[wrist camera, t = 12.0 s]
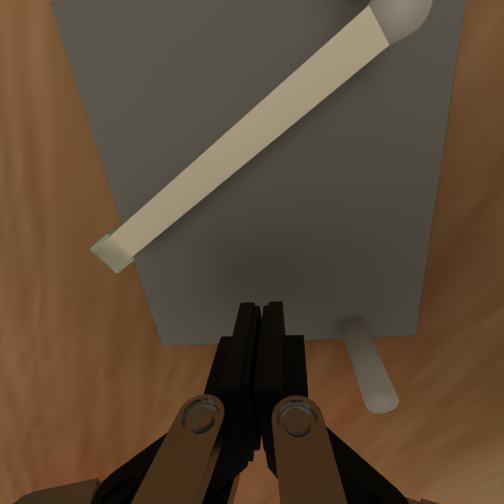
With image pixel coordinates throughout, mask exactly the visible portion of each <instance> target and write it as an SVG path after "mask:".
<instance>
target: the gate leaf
mask: <svg viewBox="0 0 504 504" xmlns="http://www.w3.org/2000/svg"><path fill="white" fill-rule="evenodd" d="M431 6H432V0H371V1H370V3H369V4H368V5H367V6H366V7H365V9H364V10H363V11H362V12H361V13H360V14H358V15H357V16H356V17H355V18H354V19H353V20H352V21H351V22H350V23H348V24H347V25H346V26H345V27H344V28H343V29H342V30H341V31H339V32H338V33H337V34H336V35H335V36H334V37H333V38H332V39H330V40H329V41H328V42H327V43H326V44H325V45H324V46H323V47H321V48H320V49H319V50H318V51H317V52H316V53H315V54H314V55H313V56H311V57H310V58H309V59H308V60H307V61H306V62H305V63H304V64H302V65H301V66H300V67H299V68H298V69H297V70H296V71H295V72H293V73H292V74H291V75H290V76H289V77H288V78H287V79H286V80H285V81H283V82H282V83H281V84H280V85H279V86H278V87H277V88H276V89H274V90H273V91H272V92H271V93H270V94H269V95H268V96H267V97H265V98H264V99H263V100H262V101H261V102H260V103H259V104H258V105H256V106H255V107H254V108H253V109H252V110H251V111H250V112H249V113H248V114H246V115H245V116H244V117H243V118H242V119H241V120H240V121H239V122H237V123H236V124H235V125H234V126H233V127H232V128H231V129H230V130H228V131H227V132H226V133H225V134H224V135H223V136H222V137H221V138H220V139H218V140H217V141H216V142H215V143H214V144H213V145H212V146H211V147H209V148H208V149H207V150H206V151H205V152H204V153H203V154H202V155H200V156H199V157H198V158H197V159H196V160H195V161H194V162H193V163H191V164H190V165H189V166H188V167H187V168H186V169H185V170H184V171H183V172H181V173H180V174H179V175H178V176H177V177H176V178H175V179H174V180H172V181H171V182H170V183H169V184H168V185H167V186H166V187H165V188H163V189H162V190H161V191H160V192H159V193H158V194H157V195H156V196H154V197H153V198H152V199H151V200H150V201H149V202H148V203H147V204H146V205H144V206H143V207H142V208H141V209H140V210H139V211H138V212H137V213H135V214H134V215H133V216H131V217H130V218H128V219H127V220H125V221H124V222H123V223H121V224H120V225H118V226H117V227H116V228H114V229H113V230H111V231H110V232H109V233H107V234H106V235H105V236H104V237H103V238H102V239H101V240H99V241H98V242H97V243H96V244H95V245H94V246H93V247H92V248H91V249H90V250H91V251H93V252H94V253H95V254H96V255H97V256H98V257H99V258H100V259H101V260H102V261H103V262H104V263H105V264H107V265H108V266H109V267H110V268H111V269H112V270H113V271H114V272H115V273H116V274H117V273H119V272H120V271H121V270H122V269H124V268H125V267H126V266H127V265H129V264H130V263H131V262H132V261H133V260H135V259H136V258H137V257H138V256H139V255H140V253H141V252H142V251H143V250H144V249H145V248H146V247H147V246H148V245H149V244H150V243H151V242H152V241H153V240H154V239H155V238H156V237H157V236H158V235H159V234H161V233H162V232H163V231H164V230H165V229H167V228H168V227H169V226H170V225H171V224H173V223H174V222H175V221H176V220H178V219H179V218H180V217H181V216H182V215H184V214H185V213H186V212H187V211H188V210H190V209H191V208H192V207H193V206H195V205H196V204H197V203H198V202H199V201H201V200H202V199H203V198H204V197H205V196H207V195H208V194H209V193H210V192H212V191H213V190H214V189H215V188H216V187H218V186H219V185H220V184H221V183H222V182H224V181H225V180H226V179H227V178H229V177H230V176H231V175H232V174H233V173H235V172H236V171H237V170H238V169H239V168H241V167H242V166H243V165H244V164H246V163H247V162H248V161H249V160H250V159H252V158H253V157H254V156H255V155H256V154H258V153H259V152H260V151H261V150H263V149H264V148H265V147H266V146H267V145H269V144H270V143H271V142H272V141H273V140H275V139H276V138H277V137H278V136H280V135H281V134H282V133H283V132H284V131H286V130H287V129H288V128H289V127H290V126H292V125H293V124H294V123H295V122H297V121H298V120H299V119H300V118H301V117H303V116H304V115H305V114H306V113H308V112H309V111H310V110H311V109H312V108H314V107H315V106H316V105H317V104H318V103H320V102H321V101H322V100H323V99H325V98H326V97H327V96H328V95H329V94H331V93H332V92H333V91H334V90H335V89H337V88H338V87H339V86H340V85H342V84H343V83H344V82H345V81H346V80H348V79H349V78H350V77H351V76H352V75H354V74H355V73H356V72H357V71H359V70H360V69H361V68H362V67H363V66H365V65H366V64H367V63H368V62H369V61H371V60H372V59H373V58H374V57H376V56H377V55H378V54H379V53H380V52H382V51H383V50H384V49H386V48H388V47H389V46H391V45H393V44H394V43H396V42H398V41H399V40H401V39H403V38H404V37H406V36H408V35H409V34H411V33H413V32H414V31H415V30H417V29H418V28H419V27H420V26H421V25H422V24H423V22H424V21H425V19H426V18H427V16H428V14H429V12H430V9H431Z"/></svg>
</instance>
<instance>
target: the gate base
mask: <svg viewBox="0 0 504 504" xmlns="http://www.w3.org/2000/svg"><path fill="white" fill-rule="evenodd" d="M370 1H371V0H59V1H54V2H50V5H51V8H52V11H53V14H54V17H55V20H56V23H57V26H58V29H59V32H60V35H61V38H62V41H63V45H64V48H65V51H66V54H67V57H68V60H69V63H70V66H71V69H72V72H73V75H74V78H75V81H76V84H77V87H78V90H79V93H80V96H81V99H82V102H83V106H84V109H85V112H86V115H87V118H88V121H89V124H90V127H91V130H92V133H93V136H94V139H95V142H96V145H97V148H98V151H99V154H100V157H101V160H102V163H103V167H104V170H105V173H106V176H107V179H108V182H109V185H110V188H111V191H112V194H113V197H114V200H115V203H116V206H117V209H118V212H119V215H120V218H121V221H122V223H123V222H124V221H125V220H127V219H128V218H130V217H131V216H133V215H134V214H135V213H137V212H138V211H139V210H140V209H141V208H142V207H143V206H144V205H146V204H147V203H148V202H149V201H150V200H151V199H152V198H153V197H154V196H156V195H157V194H158V193H159V192H160V191H161V190H162V189H163V188H165V187H166V186H167V185H168V184H169V183H170V182H171V181H172V180H174V179H175V178H176V177H177V176H178V175H179V174H180V173H181V172H183V171H184V170H185V169H186V168H187V167H188V166H189V165H190V164H191V163H193V162H194V161H195V160H196V159H197V158H198V157H199V156H200V155H202V154H203V153H204V152H205V151H206V150H207V149H208V148H209V147H211V146H212V145H213V144H214V143H215V142H216V141H217V140H218V139H220V138H221V137H222V136H223V135H224V134H225V133H226V132H227V131H228V130H230V129H231V128H232V127H233V126H234V125H235V124H236V123H237V122H239V121H240V120H241V119H242V118H243V117H244V116H245V115H246V114H248V113H249V112H250V111H251V110H252V109H253V108H254V107H255V106H256V105H258V104H259V103H260V102H261V101H262V100H263V99H264V98H265V97H267V96H268V95H269V94H270V93H271V92H272V91H273V90H274V89H276V88H277V87H278V86H279V85H280V84H281V83H282V82H283V81H285V80H286V79H287V78H288V77H289V76H290V75H291V74H292V73H293V72H295V71H296V70H297V69H298V68H299V67H300V66H301V65H302V64H304V63H305V62H306V61H307V60H308V59H309V58H310V57H311V56H313V55H314V54H315V53H316V52H317V51H318V50H319V49H320V48H321V47H323V46H324V45H325V44H326V43H327V42H328V41H329V40H330V39H332V38H333V37H334V36H335V35H336V34H337V33H338V32H339V31H341V30H342V29H343V28H344V27H345V26H346V25H347V24H348V23H350V22H351V21H352V20H353V19H354V18H355V17H356V16H357V15H358V14H360V13H361V12H362V11H363V10H364V9H365V7H366V6H367V5H368V4H369V3H370ZM465 1H466V0H432V6H431V9H430V12H429V14H428V16H427V18H426V19H425V21H424V22H423V24H422V25H421V26H420V27H419V28H418V29H417V30H415V31H414V32H413V33H411V34H409V35H408V36H406V37H404V38H403V39H401V40H399V41H398V42H396V43H394V44H393V45H391V46H389V47H388V48H386V49H384V50H383V51H382V52H380V53H379V54H378V55H377V56H376V57H374V58H373V59H372V60H371V61H369V62H368V63H367V64H366V65H365V66H363V67H362V68H361V69H360V70H359V71H357V72H356V73H355V74H354V75H352V76H351V77H350V78H349V79H348V80H346V81H345V82H344V83H343V84H342V85H340V86H339V87H338V88H337V89H335V90H334V91H333V92H332V93H331V94H329V95H328V96H327V97H326V98H325V99H323V100H322V101H321V102H320V103H318V104H317V105H316V106H315V107H314V108H312V109H311V110H310V111H309V112H308V113H306V114H305V115H304V116H303V117H301V118H300V119H299V120H298V121H297V122H295V123H294V124H293V125H292V126H290V127H289V128H288V129H287V130H286V131H284V132H283V133H282V134H281V135H280V136H278V137H277V138H276V139H275V140H273V141H272V142H271V143H270V144H269V145H267V146H266V147H265V148H264V149H263V150H261V151H260V152H259V153H258V154H256V155H255V156H254V157H253V158H252V159H250V160H249V161H248V162H247V163H246V164H244V165H243V166H242V167H241V168H239V169H238V170H237V171H236V172H235V173H233V174H232V175H231V176H230V177H229V178H227V179H226V180H225V181H224V182H222V183H221V184H220V185H219V186H218V187H216V188H215V189H214V190H213V191H212V192H210V193H209V194H208V195H207V196H205V197H204V198H203V199H202V200H201V201H199V202H198V203H197V204H196V205H195V206H193V207H192V208H191V209H190V210H188V211H187V212H186V213H185V214H184V215H182V216H181V217H180V218H179V219H178V220H176V221H175V222H174V223H173V224H171V225H170V226H169V227H168V228H167V229H165V230H164V231H163V232H162V233H161V234H159V235H158V236H157V237H156V238H155V239H154V240H153V241H152V242H151V243H150V244H149V245H148V246H147V247H146V248H145V249H144V250H143V251H142V252H141V253H140V255H139V256H138V257H137V258H136V259H135V260H134V261H135V264H136V267H137V270H138V273H139V276H140V279H141V282H142V285H143V288H144V292H145V295H146V298H147V301H148V304H149V307H150V310H151V313H152V316H153V319H154V322H155V325H156V328H157V331H158V334H159V337H160V340H161V343H162V346H175V345H199V344H219V341H220V338H221V337H222V336H232V335H233V331H234V326H235V322H236V318H237V314H238V310H239V306H240V303H244V302H254V303H255V306H260V309H261V317H262V313H263V306H264V305H268V303H269V302H272V301H283V310H284V321H285V332H286V335H304V340H318V339H342V338H344V339H345V342H346V345H347V349H348V352H349V355H350V358H351V362H352V365H353V368H354V371H355V375H356V378H357V381H358V384H359V387H360V391H361V394H362V397H363V400H364V404H365V406H366V408H367V409H368V410H369V411H371V412H374V413H386V412H390V411H392V410H393V409H395V408H396V407H397V405H398V403H399V399H398V397H397V395H396V392H395V390H394V388H393V385H392V383H391V381H390V378H389V376H388V374H387V371H386V369H385V367H384V365H383V362H382V360H381V358H380V355H379V353H378V351H377V348H376V346H375V344H374V341H373V339H372V337H390V336H413V335H416V328H417V321H418V315H419V308H420V301H421V295H422V288H423V281H424V275H425V268H426V261H427V255H428V248H429V241H430V235H431V228H432V221H433V215H434V208H435V201H436V195H437V188H438V181H439V175H440V168H441V161H442V155H443V148H444V141H445V135H446V128H447V121H448V115H449V108H450V101H451V95H452V88H453V81H454V75H455V68H456V61H457V55H458V48H459V41H460V35H461V28H462V21H463V15H464V8H465Z"/></svg>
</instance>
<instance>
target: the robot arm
mask: <svg viewBox="0 0 504 504" xmlns="http://www.w3.org/2000/svg"><path fill="white" fill-rule="evenodd" d="M261 435H262V441H263V447H264V451H265V452H266V458H267V464H268V468H269V469H270V470H271V471H272V473H273V474H274V475H275V476H276V477H277V479H278V486H279V495H280V504H438V503H435V502H432V501H429V500H426V499H422V498H421V502H419V501H416V500H413V499H409V498H406V497H404V496H403V495H402V494H401V492H400V491H399V490H398V489H397V488H396V487H394V486H393V485H392V484H391V483H390V482H389V481H388V480H386V479H385V478H384V477H383V476H382V475H381V474H380V473H378V472H377V471H376V470H375V469H374V468H373V467H372V466H370V465H369V464H368V463H367V462H366V461H365V460H364V459H362V458H361V457H360V456H359V455H358V454H357V453H356V452H355V451H353V450H352V449H351V448H350V447H349V446H348V445H347V444H345V443H344V442H343V441H342V440H341V439H340V438H339V437H337V436H336V435H335V434H334V433H333V432H332V431H331V430H329V429H328V428H327V427H326V425H325V422H324V418H323V415H322V412H321V410H320V408H319V407H318V406H317V404H316V403H315V402H314V401H312V400H310V399H309V398H308V386H307V373H306V359H305V345H304V335H286V332H285V321H284V310H283V301H272V302H269V303H268V305H264V306H263V313H262V317H261V309H260V306H255V303H254V302H244V303H240V306H239V310H238V314H237V318H236V322H235V326H234V331H233V335H232V336H222V337H221V338H220V341H219V344H218V348H217V351H216V354H215V358H214V361H213V364H212V368H211V371H210V374H209V378H208V381H207V385H206V388H205V391H204V394H202V395H198V396H195V397H193V398H191V399H190V400H188V401H187V402H186V403H185V404H184V405H183V406H182V407H181V409H180V410H179V412H178V414H177V416H176V418H175V420H174V421H173V423H172V425H171V427H170V429H169V431H168V433H166V434H165V435H164V436H162V437H161V438H159V439H158V440H157V441H155V442H154V443H153V444H151V445H150V446H148V447H147V448H146V449H144V450H143V451H142V452H140V453H139V454H138V455H136V456H135V457H133V458H132V459H131V460H129V461H128V462H127V463H125V464H124V465H122V466H121V467H120V468H118V469H117V470H116V471H114V472H113V473H112V474H111V475H110V476H108V477H107V478H106V479H105V480H103V481H99V479H98V478H95V479H90V480H85V481H81V482H76V483H71V484H67V485H62V486H57V487H53V488H48V489H43V490H39V491H34V492H31V493H29V494H26V495H24V496H23V497H21V498H20V499H18V500H17V501H16V502H14V503H13V504H233V502H234V498H235V494H236V490H237V487H238V483H239V475H240V474H239V473H241V472H242V471H243V470H244V469H245V468H246V467H247V466H248V461H253V458H254V450H260V443H261Z"/></svg>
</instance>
